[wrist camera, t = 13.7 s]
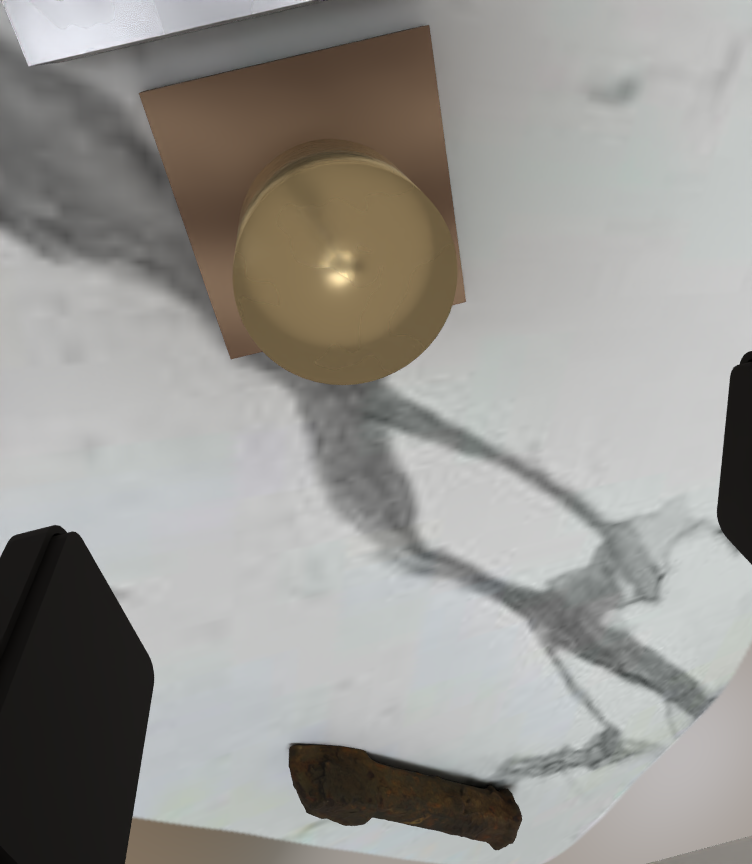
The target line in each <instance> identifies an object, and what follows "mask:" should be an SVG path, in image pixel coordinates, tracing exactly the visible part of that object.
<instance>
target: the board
mask: <svg viewBox="0 0 752 864" xmlns="http://www.w3.org/2000/svg"><path fill="white" fill-rule="evenodd" d="M139 95H140V98H141V101H142V104H143V107H144V110H145V113H146V115H147V118H148V121H149V124H150V127H151V130H152V133H153V136H154V139H155V141H156V144H157V147H158V150H159V153H160V156H161V159H162V162H163V165H164V167H165V170H166V173H167V176H168V179H169V182H170V185H171V188H172V191H173V194H174V196H175V199H176V202H177V205H178V208H179V211H180V214H181V217H182V220H183V222H184V225H185V228H186V231H187V234H188V237H189V240H190V243H191V246H192V248H193V251H194V254H195V257H196V260H197V263H198V266H199V269H200V272H201V274H202V277H203V280H204V283H205V286H206V289H207V292H208V295H209V298H210V301H211V303H212V306H213V309H214V312H215V315H216V318H217V321H218V324H219V327H220V329H221V332H222V335H223V338H224V341H225V344H226V347H227V350H228V353H229V355H230V358H231V359H234V358H238V357H242V356H246V355H251V354H255V353H259V352H263V351H262V350H261V349H260V348H259V347H258V346H257V344H256V343H255V342H254V340H253V339H252V338H251V336H250V335H249V333H248V331H247V330H246V328H245V326H244V324H243V322H242V320H241V317H240V315H239V312H238V309H237V305H236V301H235V298H234V290H233V262H234V255H235V247H236V240H237V232H238V224H239V218H240V212H241V208H242V205H243V202H244V199H245V196H246V194H247V192H248V190H249V188H250V186H251V184H252V183H253V181H254V180H255V178H256V176H257V175H258V174H259V173H260V172H261V171H262V169H263V168H264V167H265V166H266V165H267V164H268V163H269V162H271V161H272V160H273V159H274V158H275V157H277V156H278V155H280V154H281V153H283V152H284V151H286V150H288V149H290V148H292V147H294V146H296V145H299V144H302V143H305V142H309V141H314V140H320V139H340V140H348V141H352V142H356V143H359V144H362V145H364V146H367V147H369V148H371V149H373V150H375V151H377V152H378V153H380V154H382V155H383V156H384V157H386V158H387V159H388V160H389V161H391V162H392V163H393V164H394V165H395V166H396V167H397V168H398V169H399V170H400V171H401V172H402V173H403V174H404V175H405V176H406V177H407V178H408V179H409V180H410V181H412V182H413V183H414V184H415V185H416V186H417V187H418V188H419V189H420V190H421V191H422V192H423V193H424V194H425V195H426V196H427V197H428V198H429V200H430V201H431V202H432V203H433V204H434V205H435V207H436V208H437V209H438V211H439V212H440V214H441V215H442V217H443V219H444V221H445V223H446V224H447V226H448V228H449V231H450V234H451V237H452V239H453V242H454V247H455V251H456V256H457V269H458V273H457V287H456V292H455V297H454V301H453V304H452V305H455V304H459V303H463V302H466V299H465V291H464V284H463V276H462V269H461V261H460V253H459V246H458V238H457V231H456V223H455V216H454V208H453V201H452V193H451V186H450V178H449V171H448V163H447V156H446V148H445V140H444V133H443V125H442V118H441V110H440V103H439V95H438V88H437V80H436V73H435V65H434V58H433V50H432V42H431V35H430V27H429V25H426V26H420V27H416V28H412V29H407V30H403V31H399V32H395V33H390V34H386V35H382V36H377V37H373V38H369V39H365V40H360V41H356V42H352V43H348V44H343V45H339V46H335V47H331V48H326V49H322V50H318V51H313V52H309V53H305V54H301V55H296V56H292V57H288V58H284V59H279V60H275V61H271V62H266V63H262V64H258V65H254V66H249V67H245V68H241V69H237V70H232V71H228V72H224V73H219V74H215V75H211V76H207V77H202V78H198V79H194V80H190V81H185V82H181V83H177V84H172V85H168V86H164V87H160V88H155V89H151V90H147V91H143V92H141V93H139Z"/></svg>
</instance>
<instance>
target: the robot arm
mask: <svg viewBox="0 0 752 864" xmlns="http://www.w3.org/2000/svg"><path fill="white" fill-rule="evenodd" d="M717 518H718V522H719V525H720V528H721V530H722V531H723V533H724V535H725V536H726V537H727V538H728V539H729V541H730V542H731V543H732V544H733V545H734V546H735V547H736V548H737V549H738V550H739V551H740V552H741V554H742V555H743V556H744V557H745V558H746V559H747V560H748V561H749V562H750V563H751V564H752V351H750V352H748V353H746V354H745V355H744V356H743V358H742V359H741V361H740V365H737V366H735V367H734V368H733V370H732V371H731V376H730V384H729V394H728V405H727V415H726V425H725V435H724V445H723V455H722V465H721V475H720V486H719V496H718V506H717ZM153 686H154V671H153V665H152V662H151V659H150V657H149V655H148V653H147V651H146V650H145V648H144V646H143V644H142V643H141V641H140V639H139V637H138V636H137V634H136V632H135V630H134V629H133V627H132V625H131V623H130V622H129V620H128V618H127V616H126V615H125V613H124V611H123V609H122V608H121V606H120V604H119V602H118V601H117V599H116V597H115V595H114V594H113V592H112V590H111V588H110V587H109V585H108V583H107V581H106V580H105V578H104V576H103V574H102V573H101V571H100V569H99V567H98V566H97V564H96V562H95V560H94V559H93V557H92V555H91V553H90V552H89V550H88V548H87V546H86V545H85V543H84V541H83V539H82V538H81V537H80V535H79V534H77V533H76V532H69V533H67V532H66V531H65V530H64V529H63V528H62V527H61V526H57V525H53V526H49V527H45V528H41V529H37V530H33V531H29V532H25V533H21V534H17V535H15V536H13V537H11V539H10V540H9V541H8V543H7V545H6V547H5V549H4V551H3V553H2V555H1V557H0V864H125V859H126V853H127V847H128V840H129V834H130V828H131V822H132V816H133V810H134V804H135V797H136V791H137V785H138V779H139V773H140V767H141V760H142V754H143V748H144V742H145V736H146V730H147V723H148V717H149V711H150V705H151V699H152V693H153ZM648 864H752V836H749V837H745V838H741V839H737V840H734V841H730V842H726V843H722V844H719V845H715V846H712V847H707V848H704V849H700V850H696V851H692V852H689V853H685V854H682V855H677V856H674V857H670V858H667V859H663V860H659V861H655V862H651V863H648Z"/></svg>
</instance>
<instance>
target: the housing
mask: <svg viewBox="0 0 752 864" xmlns="http://www.w3.org/2000/svg"><path fill="white" fill-rule="evenodd" d="M1 1H2V4H3V6H4V8H5V11H6V13H7V16H8V18H9V20H10V23H11V25H12V28H13V30H14V32H15V35H16V37H17V40H18V42H19V44H20V47H21V49H22V52H23V54H24V56H25V59H26V61H27V64H28V66H34V65H42V64H50V63H59V62H64V61H68V60H73V59H77V58H81V57H86V56H90V55H94V54H99V53H103V52H107V51H111V50H116V49H120V48H124V47H129V46H133V45H137V44H142V43H146V42H150V41H154V40H159V39H163V38H167V37H172V36H176V35H180V34H185V33H189V32H193V31H197V30H202V29H206V28H210V27H215V26H219V25H223V24H228V23H232V22H236V21H240V20H245V19H249V18H253V17H258V16H262V15H266V14H271V13H275V12H279V11H283V10H288V9H292V8H296V7H301V6H305V5H309V4H314V3H318V2H322V1H327V0H1Z"/></svg>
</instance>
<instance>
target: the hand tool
mask: <svg viewBox="0 0 752 864" xmlns="http://www.w3.org/2000/svg"><path fill="white" fill-rule="evenodd" d="M289 768H290V772H291V777H292V781H293V786H294V788H295V789H296V791H297V793H298V796H299V798H300V800H301V803H302V804H303V806H304V808H305V810H306V812H307V813H308V814H311V815H313V816H316V817H318V818H321V819H329V820H332V821H334V822H337V823H339V824H342V825H345V826H357V825H363V824H365V823H367V822H368V821H369V820H370V819H371V818H378V819H385V820H388V821H393V822H398V823H403V824H407V825H411V826H417V827H421V828H426V829H431V830H436V831H440V832H444V833H447V834H450V835H458V836H461V837H467V838H469V839H472V840H478V841H483V842H487V843H489V844H490V845H491V847H492V848H493V849H494V850H500V849H502V848H503V847H506V846H507V845H508V844H513V842H514V841H515V838H516V836H517V831H518V829H519V826H520V824H521V821H522V815H521V812H520V809H519V806H518V805H517V804H516V802H515V800H514V797H513V795H512V793H511V792H510V791H509V790H508V789H501V790H499V791H498V792H497V791H496V789H495V788H494V787H493V786H492V785H489V786H488V787H487V788H486V789H482V788H478V787H473V786H469V785H465V784H460V783H456V782H452V781H448V780H444V779H441V778H440V777H438V776H436V777H434V776H427V775H424V774H421V773H418V772H411V771H407V770H403V769H399V768H395V767H390V766H387V765H384V764H380V763H377V762H375V761H374V760H372V759H370V758H369V757H368V754H367V753H366V751H364V750H360V749H355V748H349V747H343V746H327V745H294V746H291V747H290V748H289Z"/></svg>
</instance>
